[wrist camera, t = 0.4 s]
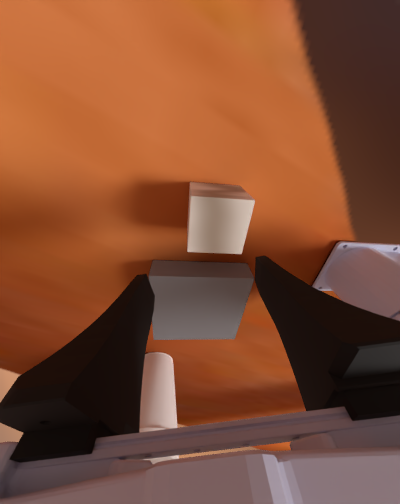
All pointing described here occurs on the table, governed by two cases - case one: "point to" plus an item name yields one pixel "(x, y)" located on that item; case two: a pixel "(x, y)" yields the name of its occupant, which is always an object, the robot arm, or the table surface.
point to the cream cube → (218, 218)
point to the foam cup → (158, 396)
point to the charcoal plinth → (198, 298)
